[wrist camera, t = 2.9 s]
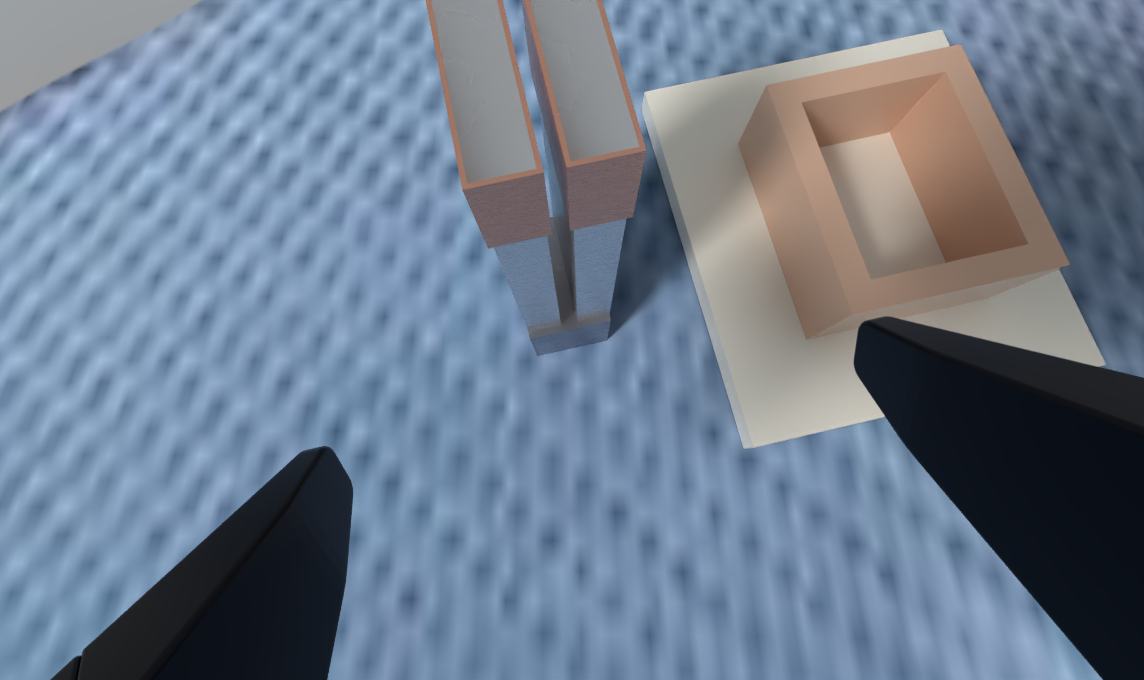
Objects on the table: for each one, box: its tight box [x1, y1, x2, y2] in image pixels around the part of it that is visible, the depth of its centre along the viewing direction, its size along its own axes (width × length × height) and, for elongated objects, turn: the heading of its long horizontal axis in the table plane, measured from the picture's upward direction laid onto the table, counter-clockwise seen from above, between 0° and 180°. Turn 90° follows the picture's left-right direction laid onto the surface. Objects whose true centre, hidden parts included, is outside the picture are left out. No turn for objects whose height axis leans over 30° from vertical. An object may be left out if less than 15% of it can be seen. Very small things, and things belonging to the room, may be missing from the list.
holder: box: [642, 30, 1106, 448], centre depth 20 cm, size 16×14×5 cm
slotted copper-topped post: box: [426, 0, 647, 356], centre depth 15 cm, size 4×3×13 cm
